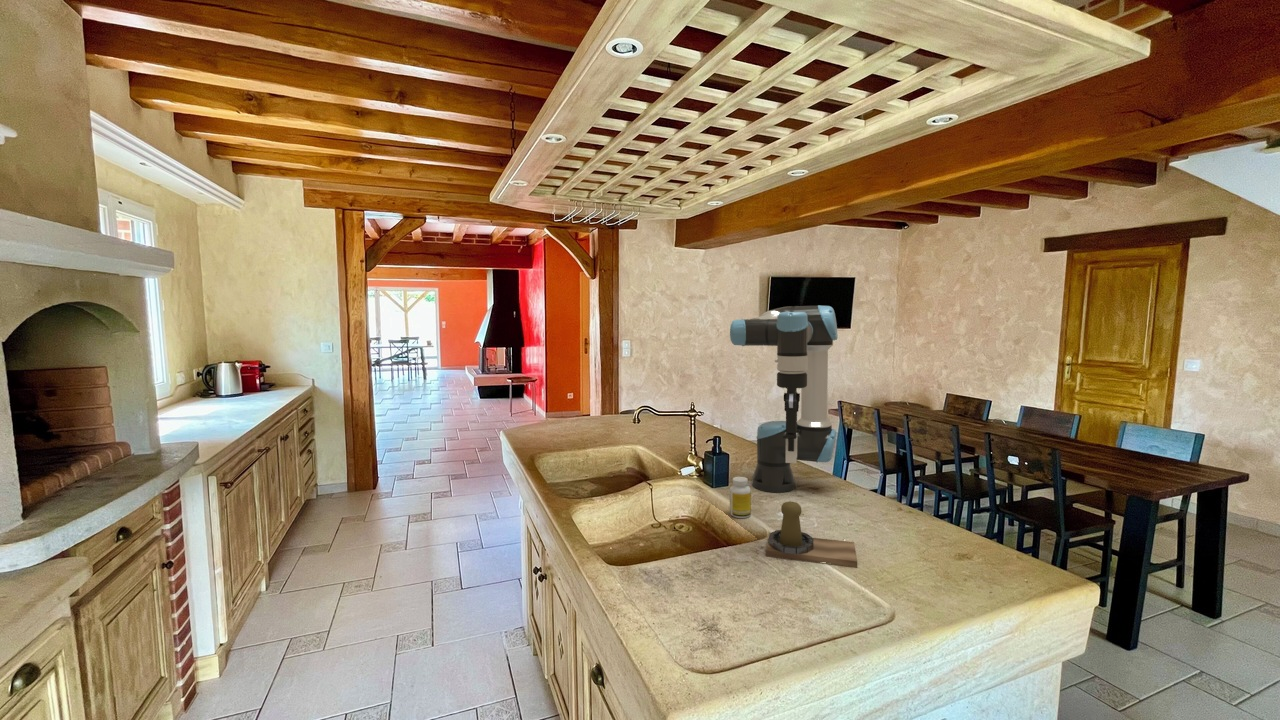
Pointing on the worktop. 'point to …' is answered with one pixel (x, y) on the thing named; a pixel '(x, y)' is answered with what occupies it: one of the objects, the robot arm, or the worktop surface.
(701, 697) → the worktop surface
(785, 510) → the cork
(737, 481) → the pill bottle
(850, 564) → the walnut board
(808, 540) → the ring holder
